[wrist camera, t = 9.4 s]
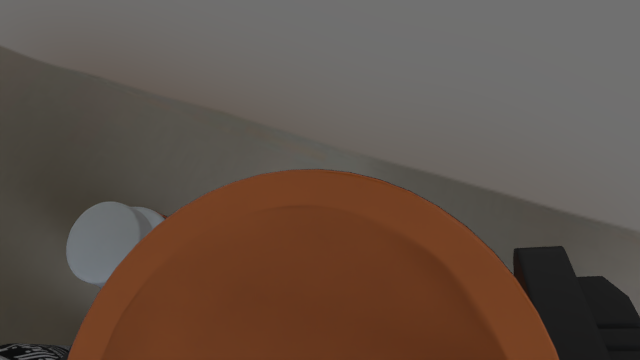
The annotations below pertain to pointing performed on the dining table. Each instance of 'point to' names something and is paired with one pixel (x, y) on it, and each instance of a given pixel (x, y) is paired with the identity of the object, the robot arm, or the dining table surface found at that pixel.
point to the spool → (312, 281)
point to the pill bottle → (106, 238)
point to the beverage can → (32, 352)
